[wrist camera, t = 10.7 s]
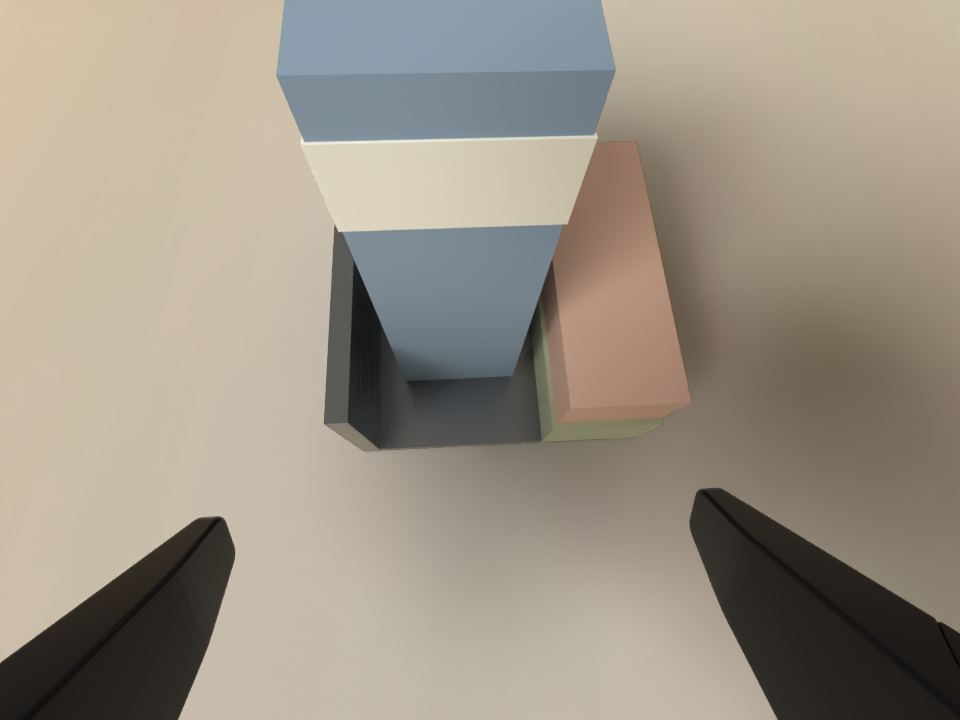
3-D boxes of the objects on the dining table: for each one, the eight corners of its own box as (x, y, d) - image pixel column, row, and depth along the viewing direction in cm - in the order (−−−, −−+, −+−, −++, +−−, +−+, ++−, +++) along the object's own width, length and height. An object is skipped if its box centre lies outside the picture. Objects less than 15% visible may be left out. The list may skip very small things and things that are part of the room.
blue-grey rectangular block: (513, 377, 17) (620, 72, 6) (404, 382, 17) (272, 78, 5) (503, 258, 19) (567, -171, 7) (402, 262, 19) (300, -173, 7)
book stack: (637, 437, 17) (694, 409, 13) (540, 442, 17) (566, 415, 13) (599, 210, 20) (634, 128, 16) (517, 212, 20) (532, 129, 16)
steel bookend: (540, 442, 17) (570, 412, 12) (363, 451, 17) (324, 424, 12) (517, 212, 20) (534, 117, 15) (369, 216, 20) (339, 121, 15)
